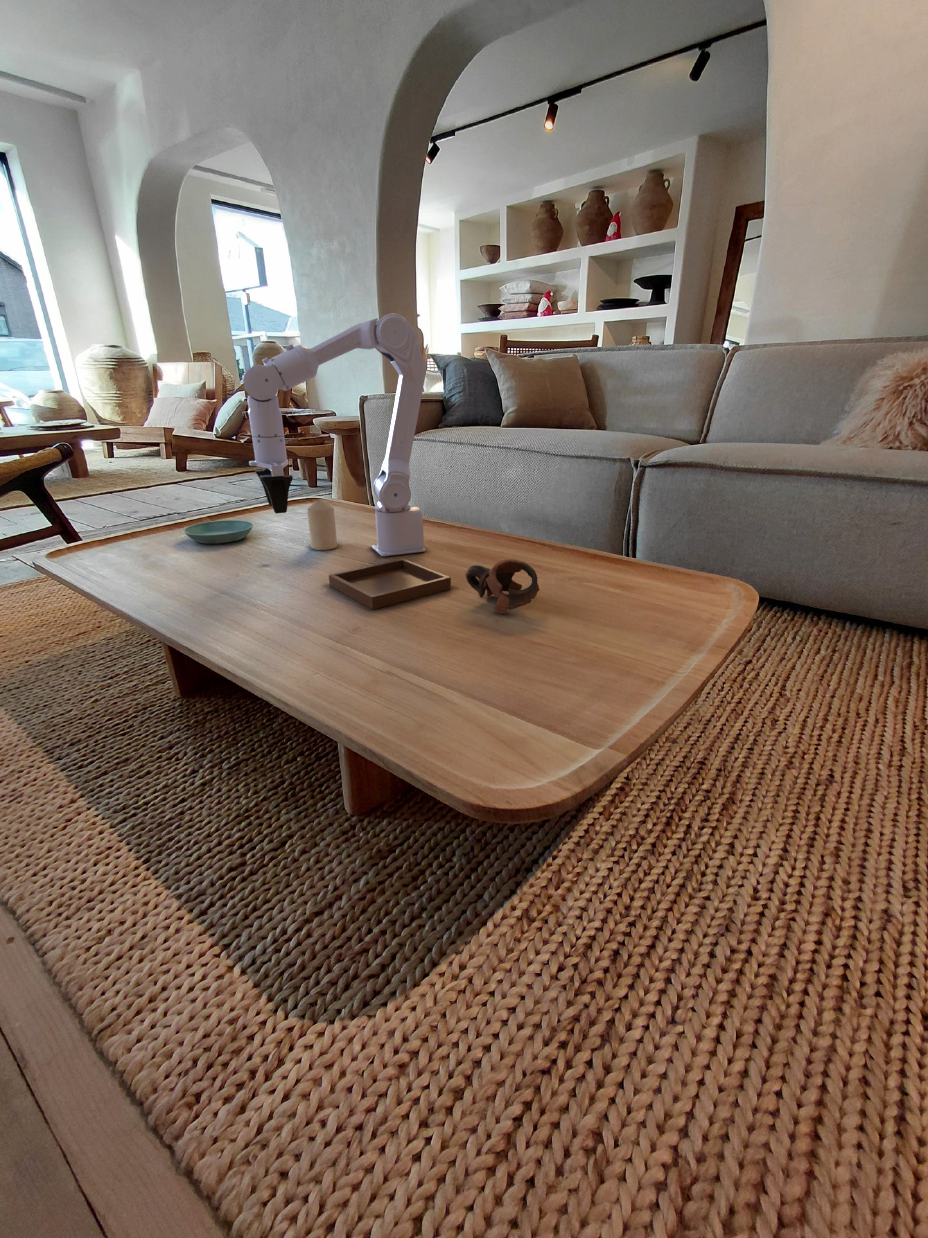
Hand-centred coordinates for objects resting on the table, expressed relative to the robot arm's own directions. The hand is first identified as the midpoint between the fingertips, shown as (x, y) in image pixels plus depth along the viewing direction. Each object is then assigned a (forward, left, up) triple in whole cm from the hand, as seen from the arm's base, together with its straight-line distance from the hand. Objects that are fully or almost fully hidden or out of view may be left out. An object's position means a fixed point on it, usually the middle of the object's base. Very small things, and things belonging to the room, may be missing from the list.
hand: (277, 509), depth 112 cm
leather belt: (-28, +40, -10) cm, 50 cm away
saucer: (+11, -23, -10) cm, 27 cm away
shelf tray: (-14, +25, -10) cm, 31 cm away
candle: (-9, -6, -10) cm, 15 cm away
